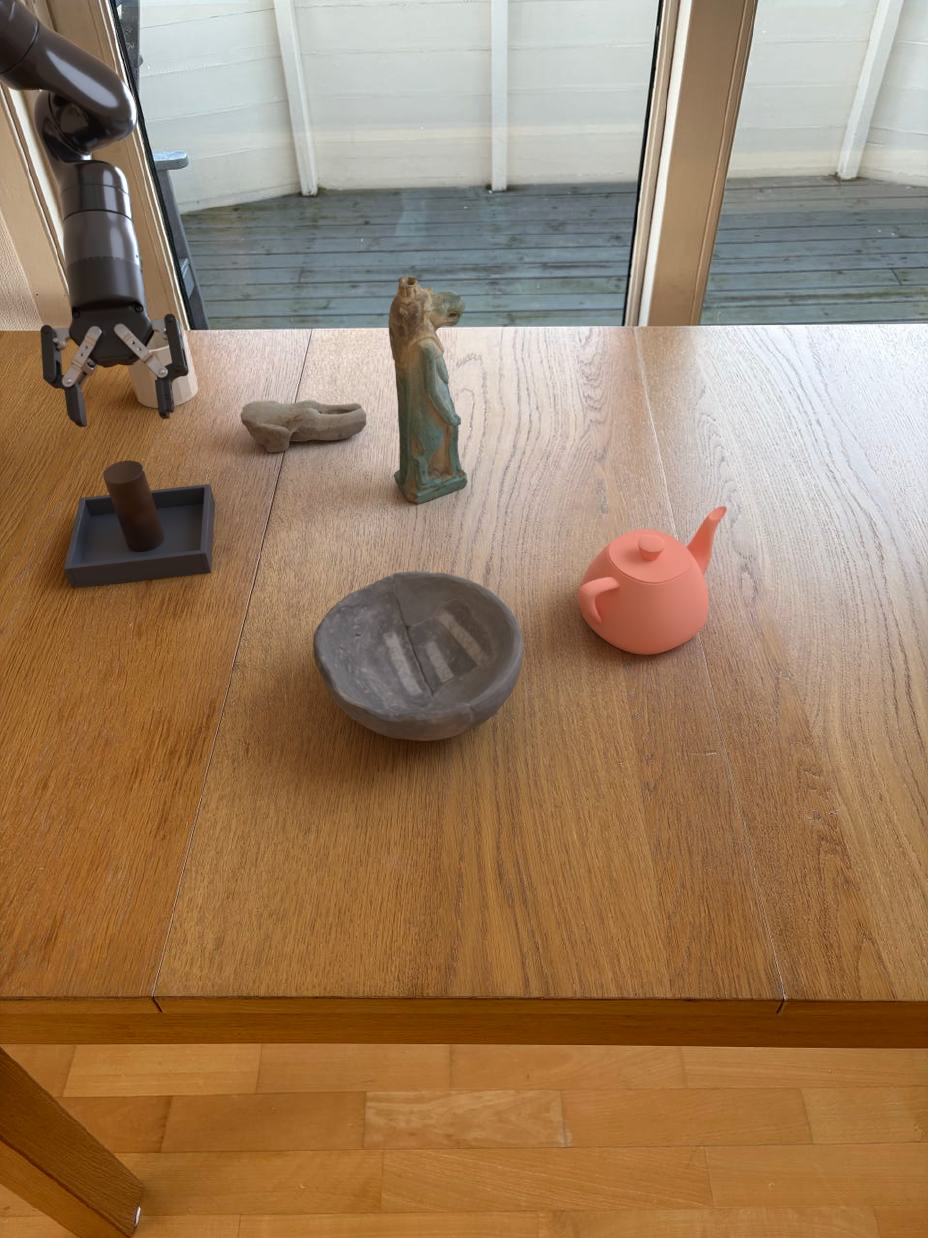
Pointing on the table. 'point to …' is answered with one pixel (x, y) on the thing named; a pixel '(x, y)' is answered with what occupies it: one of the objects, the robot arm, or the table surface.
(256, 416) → the sculpture
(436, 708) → the bowl
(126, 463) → the walnut peg
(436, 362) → the statue
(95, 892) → the table surface
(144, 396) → the cup
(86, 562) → the tray
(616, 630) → the teapot
